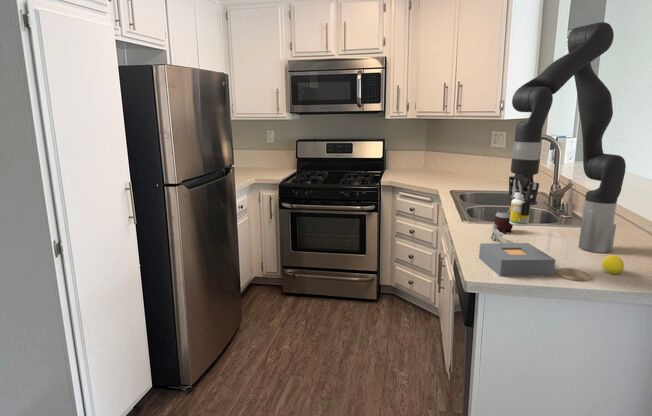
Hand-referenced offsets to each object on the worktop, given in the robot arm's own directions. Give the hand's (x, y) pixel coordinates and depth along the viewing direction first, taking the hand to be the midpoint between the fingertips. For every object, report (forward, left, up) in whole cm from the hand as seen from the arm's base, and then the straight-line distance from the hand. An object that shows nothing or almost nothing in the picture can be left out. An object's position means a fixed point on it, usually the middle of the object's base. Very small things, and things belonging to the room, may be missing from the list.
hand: (519, 212), depth 130 cm
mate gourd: (-14, -38, -17) cm, 44 cm away
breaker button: (0, 0, -14) cm, 14 cm away
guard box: (0, 0, -17) cm, 17 cm away
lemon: (-27, +6, -17) cm, 33 cm away
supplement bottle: (0, 0, -4) cm, 4 cm away
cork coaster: (-14, +8, -17) cm, 23 cm away
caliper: (-5, -19, -18) cm, 26 cm away
